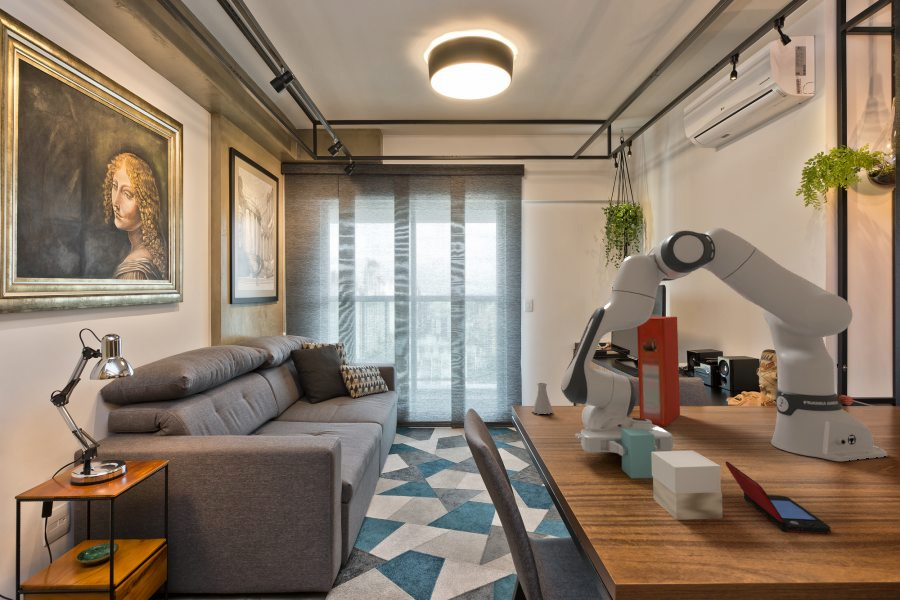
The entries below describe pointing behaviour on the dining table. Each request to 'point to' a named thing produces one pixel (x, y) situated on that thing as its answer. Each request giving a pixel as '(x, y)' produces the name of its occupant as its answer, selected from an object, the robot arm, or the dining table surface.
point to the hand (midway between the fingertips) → (639, 451)
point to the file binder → (658, 370)
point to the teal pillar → (637, 452)
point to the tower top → (686, 472)
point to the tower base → (688, 503)
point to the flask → (542, 400)
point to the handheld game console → (778, 507)
